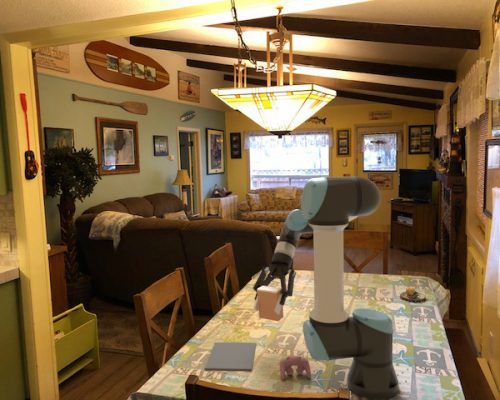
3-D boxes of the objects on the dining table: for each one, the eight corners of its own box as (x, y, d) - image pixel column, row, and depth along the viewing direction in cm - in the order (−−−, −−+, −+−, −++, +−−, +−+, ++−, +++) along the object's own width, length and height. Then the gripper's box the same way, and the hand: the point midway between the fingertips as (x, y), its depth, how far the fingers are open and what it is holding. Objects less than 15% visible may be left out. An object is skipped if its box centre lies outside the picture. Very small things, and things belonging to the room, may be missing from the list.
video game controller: (309, 378, 137) (307, 355, 140) (312, 378, 133) (310, 355, 136) (279, 379, 137) (278, 356, 139) (281, 380, 133) (279, 356, 135)
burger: (429, 302, 200) (429, 287, 199) (404, 303, 200) (404, 288, 200) (419, 294, 212) (420, 280, 211) (396, 295, 212) (396, 280, 212)
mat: (251, 370, 140) (251, 368, 140) (204, 369, 142) (204, 368, 141) (256, 344, 160) (256, 342, 160) (214, 343, 161) (214, 342, 161)
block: (264, 313, 157) (262, 285, 156) (283, 317, 153) (281, 288, 152) (259, 317, 154) (257, 289, 153) (278, 321, 150) (276, 291, 148)
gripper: (311, 263, 159) (296, 319, 147) (263, 259, 170) (246, 311, 158) (304, 253, 154) (288, 310, 142) (256, 249, 165) (237, 303, 153)
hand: (266, 311), depth 150 cm, fingers closed on block, 8 cm apart
